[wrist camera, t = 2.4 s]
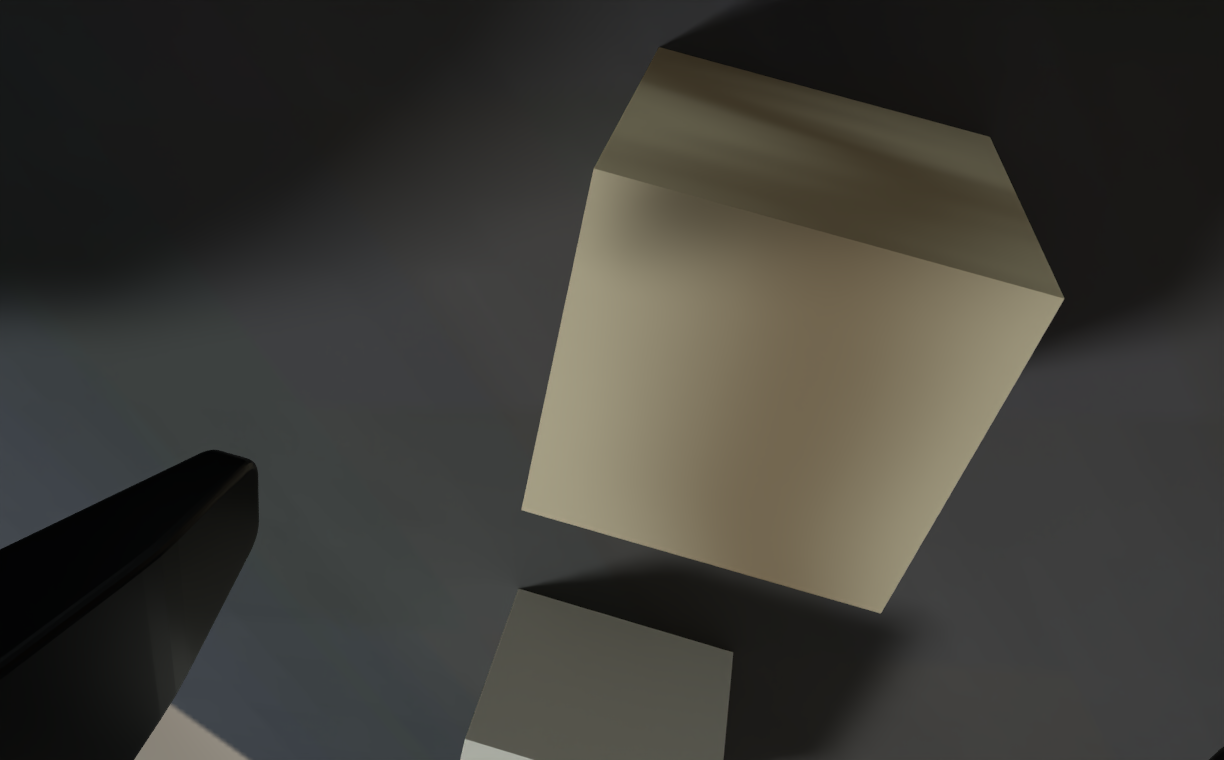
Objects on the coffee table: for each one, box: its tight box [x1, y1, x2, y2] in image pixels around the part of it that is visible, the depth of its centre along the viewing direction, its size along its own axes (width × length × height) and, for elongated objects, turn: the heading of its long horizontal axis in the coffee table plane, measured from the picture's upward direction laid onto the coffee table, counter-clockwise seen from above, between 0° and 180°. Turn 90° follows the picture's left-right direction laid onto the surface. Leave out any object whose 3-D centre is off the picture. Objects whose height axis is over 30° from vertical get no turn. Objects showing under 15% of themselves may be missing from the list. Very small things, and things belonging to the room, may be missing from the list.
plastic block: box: [460, 589, 733, 760], centre depth 21 cm, size 5×5×4 cm
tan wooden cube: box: [522, 47, 1064, 613], centre depth 13 cm, size 5×5×5 cm
